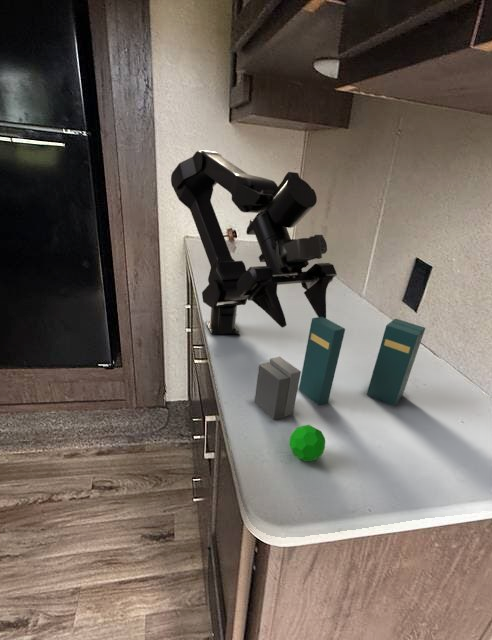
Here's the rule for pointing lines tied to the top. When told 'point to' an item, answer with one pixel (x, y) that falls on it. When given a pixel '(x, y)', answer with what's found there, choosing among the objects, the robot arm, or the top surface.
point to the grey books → (277, 387)
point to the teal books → (395, 360)
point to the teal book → (321, 359)
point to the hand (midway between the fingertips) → (304, 323)
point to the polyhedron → (307, 443)
